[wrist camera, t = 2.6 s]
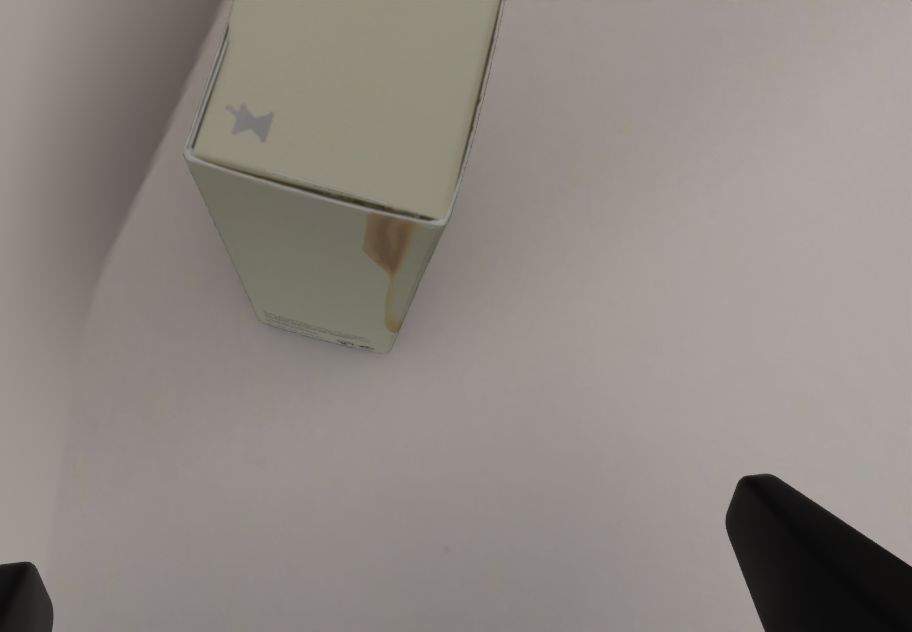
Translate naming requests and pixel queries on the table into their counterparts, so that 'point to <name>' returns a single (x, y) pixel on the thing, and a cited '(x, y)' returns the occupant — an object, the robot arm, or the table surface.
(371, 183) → the cosmetic box
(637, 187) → the table surface
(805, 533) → the robot arm
